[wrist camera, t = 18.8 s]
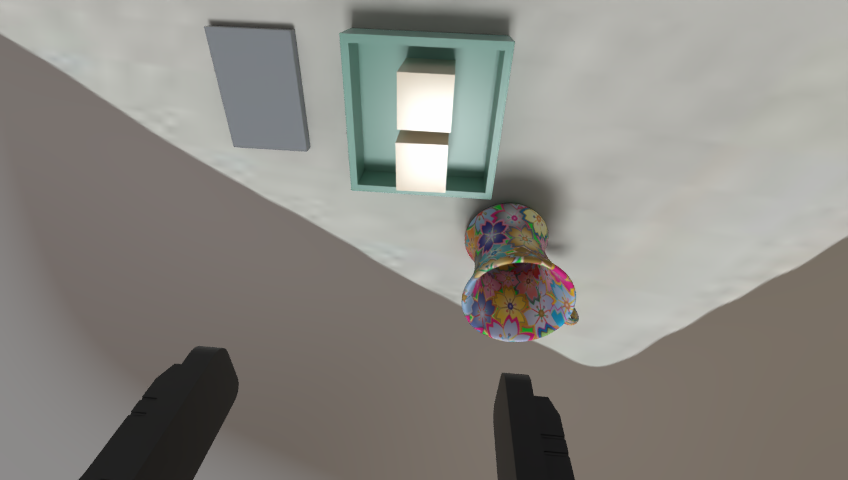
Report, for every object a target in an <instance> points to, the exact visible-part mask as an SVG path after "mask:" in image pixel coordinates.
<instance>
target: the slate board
mask: <svg viewBox="0 0 848 480" xmlns="http://www.w3.org/2000/svg"><path fill="white" fill-rule="evenodd" d="M204 28H205V32H206V37H207V41H208V45H209V49H210V53H211V57H212V61H213V65H214V69H215V73H216V77H217V81H218V85H219V89H220V93H221V97H222V101H223V105H224V109H225V113H226V117H227V121H228V125H229V129H230V134H231V138H232V142H233V146H234V147H241V148H257V149H273V150H290V151H306V152H307V151H308V150H309V149H310V142H309V134H308V127H307V119H306V112H305V104H304V97H303V89H302V82H301V74H300V67H299V59H298V52H297V44H296V37H295V29H276V28H256V27H235V26H215V25H209V26H204Z"/></svg>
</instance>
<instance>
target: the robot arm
mask: <svg viewBox="0 0 848 480" xmlns="http://www.w3.org/2000/svg"><path fill="white" fill-rule="evenodd" d="M238 385H239V382H238V378H237V375H236V372H235V370H234V367H233V365H232V362H231V359H230V357H229V354H228V352H227V350H226V349H224V348H215V347H203V346H198V347H195V348H194V349H193V350H192V351H191V352H190V353H189V355H188V356H187V357H186V359H185V360H184V362H183V363H182V364H174V365H172V366H171V367H170V368H169V369H167V370H166V371H165V372H164V373H162V374H161V375H160V376H159V377H158V378H156V379H155V380H154V382H153V383H152V385H151V386H150V387H149V388H148V390H147V391H146V392H145V394H144V395H143V396H142V397H143V398H142V400H140V401H139V402H138V403H137V404H136V406H135V407H134V408H133V410H132V411H131V415H128V416H127V418H126V419H125V420H124V422H123V423H122V424H121V425H120V427H119V428H118V430H117V431H116V432H115V434H114V435H113V436H112V437H111V439H110V440H109V441H108V443H107V444H106V445H105V447H104V448H103V450H102V451H101V452H100V453H99V455H98V456H97V457H96V459H95V460H94V461H93V463H92V464H91V465H90V467H89V468H88V469H87V470H86V472H85V473H84V474H83V475H82V477H81V478H80V479H79V480H193V479H194V477H195V475H196V473H197V471H198V469H199V467H200V466H201V464H202V462H203V460H204V458H205V456H206V454H207V452H208V450H209V449H210V447H211V445H212V443H213V441H214V439H215V437H216V435H217V433H218V432H219V430H220V428H221V426H222V424H223V422H224V420H225V418H226V416H227V415H228V413H229V411H230V409H231V407H232V405H233V403H234V401H235V399H236V396H237V393H238ZM493 419H494V421H493V423H494V437H495V450H496V462H497V474H498V480H575V479H574V475H573V470H572V466H571V462H570V458H569V456H568V448H567V444H566V440H565V439H564V432H563V428H562V423H561V418H560V415H559V413H558V412H557V410H556V409H555V408H554V406H553V404H552V402H551V401H550V400H549V398H548V397H540V396H534V395H533V389H532V384H531V379H530V377H529V375H524V374H511V373H502V374H501V378H500V382H499V386H498V390H497V395H496V399H495V403H494V414H493Z"/></svg>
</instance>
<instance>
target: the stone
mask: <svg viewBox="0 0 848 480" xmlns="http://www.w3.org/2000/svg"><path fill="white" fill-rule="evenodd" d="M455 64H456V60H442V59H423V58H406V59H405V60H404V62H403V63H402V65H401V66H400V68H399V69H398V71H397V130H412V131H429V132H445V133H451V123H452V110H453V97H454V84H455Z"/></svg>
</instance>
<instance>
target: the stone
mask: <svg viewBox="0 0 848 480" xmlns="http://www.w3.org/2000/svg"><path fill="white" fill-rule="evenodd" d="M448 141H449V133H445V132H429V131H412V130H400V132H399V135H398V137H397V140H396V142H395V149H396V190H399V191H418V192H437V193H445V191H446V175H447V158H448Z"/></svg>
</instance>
